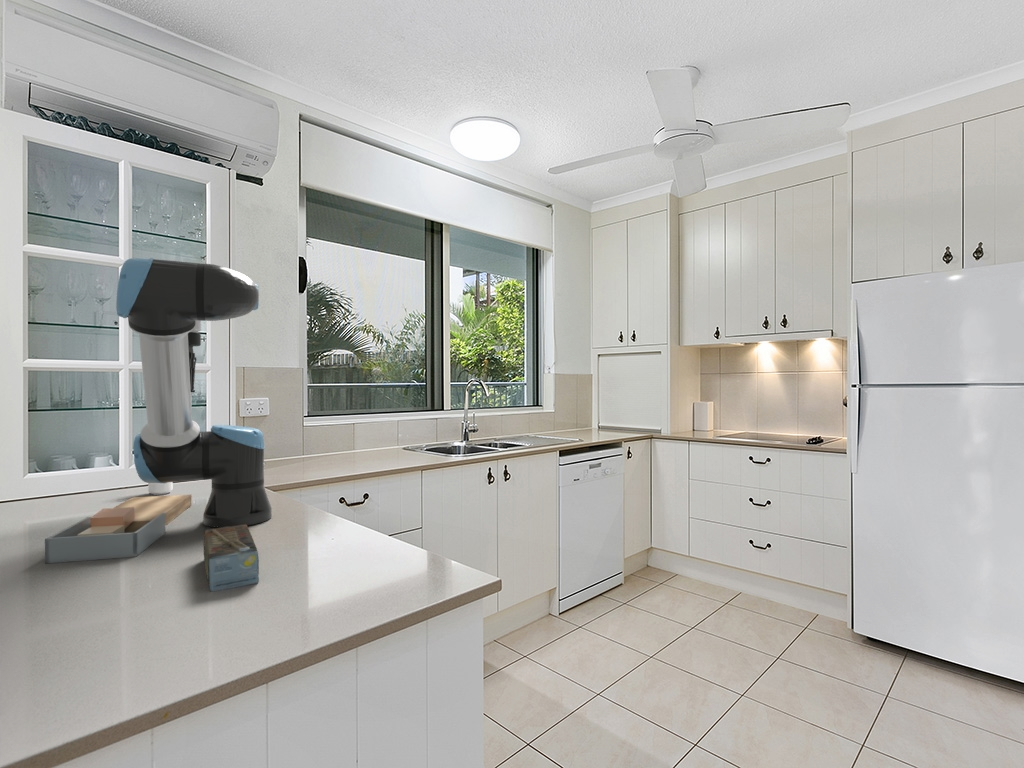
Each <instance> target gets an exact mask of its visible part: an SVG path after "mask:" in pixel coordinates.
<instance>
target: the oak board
mask: <svg viewBox="0 0 1024 768" xmlns="http://www.w3.org/2000/svg"><path fill="white" fill-rule="evenodd" d="M191 506H192V494H177V495H153V496H152V495H151V496H135V497H131V498H129V499H127V500H125V501H124V502H121V503H120V504H118V505H116V506H114V507H113V508H126V507H134V514H135V520H134V521H133V522H132V523H131V524H130V525H129V526H127V527H126V528H125V529H124V533H129V532H136V531H137V530H139V529H140V528H141V527H143V526H144V525H146V524H147V523H149V522H150V521H151V520H153V519H154V518H156V517H157V516H159V515H160V514H161V513H165V527H166V526H167V525H168V524H169V523H171V522H172V521H173V520H174V519H176V518H177V517H179V516H180V515H181V514H182V513H184V512H186V510H188V509H189V508H190V507H191Z"/></svg>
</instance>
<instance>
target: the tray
mask: <svg viewBox="0 0 1024 768" xmlns="http://www.w3.org/2000/svg"><path fill="white" fill-rule="evenodd" d="M91 517H92V516H87V517H85V518H83V519H81V520H79V521H77V522H75V523H73V524H71V525H69V526H67V527H66V528H64V529H62V530H60V531H57V532H55V533H54V534H52V535H50V536H48V537H46V538H45V539H44V564H53V563H55V564H57V563H68V562H81V561H82V562H83V561H94V560H95V561H96V560H107V559H121V558H122V559H123V558H135V557H138V556H139V555H141V554H142V553H143V552H144V551H145V550H147V548H149V547H150V546H152V545H153V544H154V543H155V542H156V541H158V540H159V539H160V538H161V537H162V536H164V534H166V526H165V513H161V514H160V515H159V516H157V517H156V518H154V519H153V520H151V521H150V522H149V523H147V524H146V525H144V526H143V527H141V528H140V529H139V530H137V531H136V532H129V533H120V534H104V535H89V536H77V535H78V534H79V533H81V532H83V531H85V530H87V529H88V528H90V527H91V524H90V518H91Z"/></svg>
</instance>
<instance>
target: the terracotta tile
mask: <svg viewBox="0 0 1024 768" xmlns="http://www.w3.org/2000/svg"><path fill="white" fill-rule="evenodd" d="M90 517H91V518H90V524H91V527H95V526H112V525H124V529H125V528H126V527H127V526H129V525H130V524H131V523H132V522H133V521H134V520H135V514H134V507H126V508H114V507H110V508H102V509H100V510H99V511H98V512H96V513H95V514H93V516H90Z"/></svg>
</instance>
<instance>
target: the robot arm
mask: <svg viewBox="0 0 1024 768" xmlns="http://www.w3.org/2000/svg"><path fill="white" fill-rule="evenodd" d="M259 292H260V291H259V286H258V284H256V283H255V282H254V281H253V280H252V279H251V278H250V277H248V276H247V275H246V274H244V273H242V272H240V271H238V270H234V269H231V268H229V267H226V266H223V265H222V266H221V265H219V264H218V265H217V264H213V263H201V262H200V263H198V262H188V261H177V260H167V259H165V260H164V259H158V258H157V259H155V258H153V257H150V258H138V257H137V258H135V257H134V258H129V259H126V260H125V261H124V262H123V263H122V266H121V268H120V272H119V276H118V283H117V290H116V300H115V301H116V303H115V304H116V305H115V309H116V314H117V316H118V317H120V318H123V319H128V326H129V328H130V329H131V330H132V331H133V332H134V333H137V334H138V338H139V348H140V359H141V368H142V377H143V390H144V397H145V399H144V400H145V407H146V409H145V411H146V419H147V424H145V425H143V427H142V429H141V430H140V433H139V434H137V435H136V436H135V437H134V440H133V445H132V446H133V447H132V449H133V456H134V457H133V462H134V466H135V470H136V474H137V475H138V477H139V479H140V480H141V481H142V482H144V483H147V484H148V483H167V482H173V483H177V482H178V483H179V482H189V481H190V482H192V481H193V482H195V481H207V480H211V491H210V494H209V497H208V500H207V504H206V506H205V508H204V511H203V516H202V517H203V518H202V519H203V520H202V521H203V525H204V526H205V527H210V528H222V527H226V526H237V525H242V524H246V525H247V526H252V525H257V524H260V523H263V522H266V521H268V520H270V519H271V518H272V515H273V513H272V512H273V511H272V509H273V508H272V505H271V503H270V500H269V497H268V494H267V491H266V488H265V456H264V455H265V453H264V452H265V449H266V446H265V441H264V440H265V438H264V433H263V432H262V431H261V430H260V429H258V428H255V427H250V426H241V425H232V424H230V425H229V424H227V425H226V424H224V425H223V424H214V425H211V428H210V431H201V427H200V425H199V424H198V423H197V422H196V421H195V420H193V409H192V407H193V406H192V402H193V401H192V400H193V399H192V394H193V393H196V390H195V376H196V375H195V374H196V363H197V357H196V352H194V347H200V346H201V344H202V338H201V337H202V334H201V333H200V332H201V331H202V324H201V323H202V322H205V321H208V322H216V321H225V320H232V319H236V318H240V317H243V316H246V315H248V314H250V313H251V312H252V311H257V310H258V309H259V306H260V305H259V301H260V299H259V296H260V295H259V294H260V293H259ZM201 321H202V322H201Z"/></svg>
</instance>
